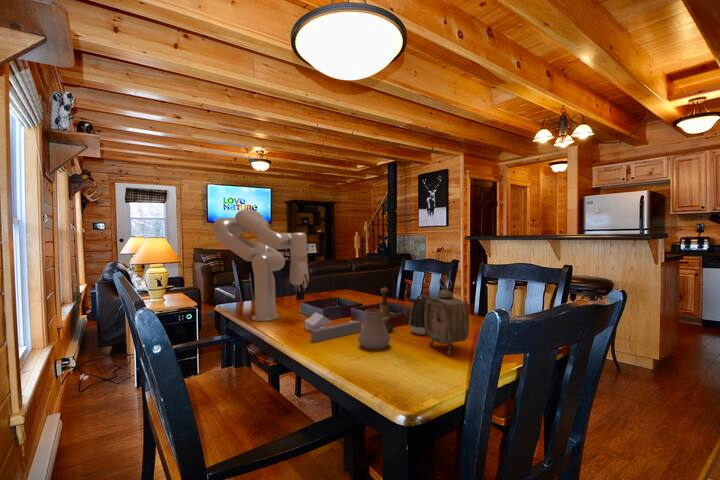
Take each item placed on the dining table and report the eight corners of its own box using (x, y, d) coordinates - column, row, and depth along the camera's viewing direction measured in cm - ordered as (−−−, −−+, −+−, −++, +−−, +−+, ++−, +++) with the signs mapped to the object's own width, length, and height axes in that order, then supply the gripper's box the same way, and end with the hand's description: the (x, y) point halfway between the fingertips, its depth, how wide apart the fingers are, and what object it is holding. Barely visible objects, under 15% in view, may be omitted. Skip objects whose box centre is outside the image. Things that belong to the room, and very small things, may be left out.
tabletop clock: (424, 345, 125) (423, 275, 124) (445, 342, 128) (444, 274, 128) (448, 358, 111) (448, 280, 111) (471, 354, 115) (471, 278, 114)
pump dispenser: (404, 331, 143) (404, 294, 143) (427, 328, 146) (426, 292, 146) (415, 337, 134) (415, 298, 133) (439, 335, 137) (439, 296, 137)
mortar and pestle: (374, 332, 142) (374, 288, 142) (379, 328, 148) (379, 285, 148) (390, 333, 139) (389, 288, 139) (394, 329, 145) (394, 286, 145)
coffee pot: (351, 346, 124) (350, 304, 124) (373, 339, 132) (373, 300, 132) (398, 361, 109) (397, 313, 109) (419, 352, 117) (419, 308, 117)
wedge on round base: (333, 330, 145) (321, 324, 156) (333, 314, 145) (320, 309, 156) (313, 334, 141) (302, 326, 152) (313, 317, 140) (301, 311, 152)
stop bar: (311, 340, 131) (310, 328, 131) (356, 330, 145) (356, 319, 145) (315, 342, 129) (315, 330, 129) (361, 331, 143) (361, 320, 143)
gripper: (284, 259, 163) (285, 298, 163) (299, 260, 152) (301, 302, 152) (298, 258, 168) (299, 296, 168) (314, 259, 157) (316, 300, 157)
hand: (300, 299), depth 160 cm, fingers closed
